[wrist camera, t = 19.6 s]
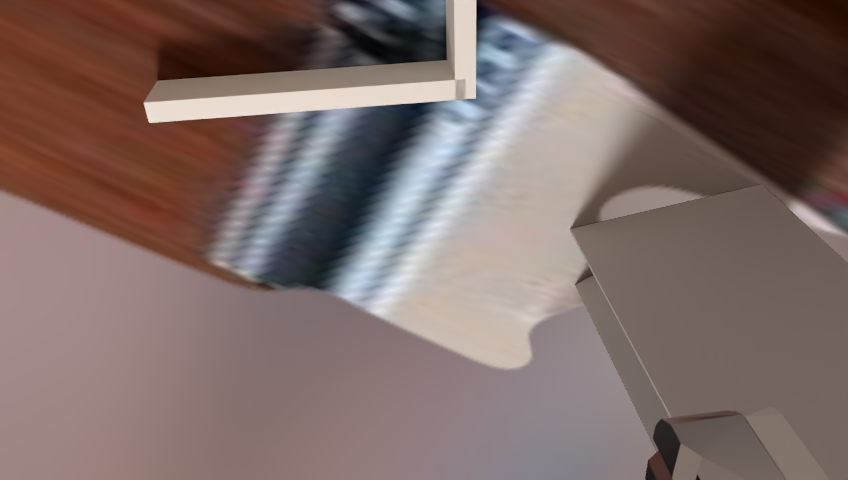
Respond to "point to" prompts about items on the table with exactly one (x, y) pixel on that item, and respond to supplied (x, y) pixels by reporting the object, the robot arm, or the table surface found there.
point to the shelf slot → (328, 83)
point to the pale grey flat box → (725, 314)
